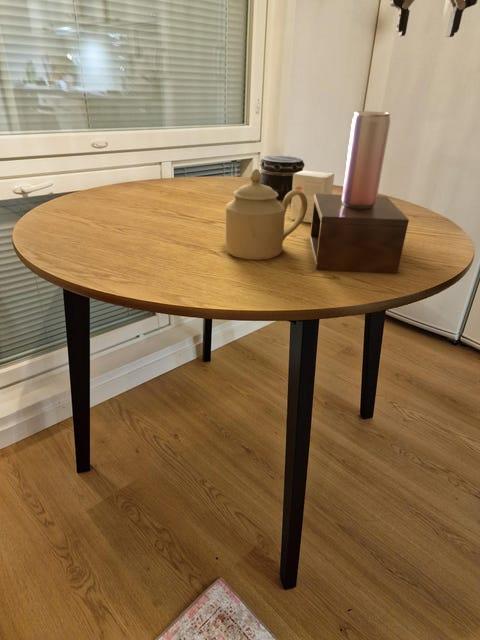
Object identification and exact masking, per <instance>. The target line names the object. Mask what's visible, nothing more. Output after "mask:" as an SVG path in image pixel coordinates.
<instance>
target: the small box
mask: <svg viewBox="0 0 480 640" xmlns="http://www.w3.org/2000/svg"><path fill="white" fill-rule="evenodd" d="M334 179H335V173H332V172H331V173H330V172H322V171H321V172H320V171H313V170H304V169H303V171H300V172H297V173H295V174H293V185H292V190H299V191H301V192H303V193H304V194H305V196H306V198H307V211H306V214H305V217H304V219H303V221H302V223H312V213H313V203H314V194H331V195H333V189H334V181H335V180H334ZM290 201H291V202H290V203H291V204H290V220H292V221H295V220H296V218H297V216H298V214H299V212H300V209H301V199H300V196H299V195H295V196H293V197H292V199H290Z"/></svg>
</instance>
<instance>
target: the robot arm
mask: <svg viewBox="0 0 480 640" xmlns="http://www.w3.org/2000/svg"><path fill="white" fill-rule="evenodd" d="M448 1H449V2H450V5H451V7H452V11H451V13H450V15H449V22H448V25H447V30H446V38H453V37H454V36H455V34H456V33H458V31H459V29H460V26H461V21H462V17H463V14H464V11H465V10H466V9H468V8H470V7H472V6H475V5H476V4H477V3H478V0H448ZM414 2H415V0H389V5H390V6H391V7H393V8H395V9H397V10H398V15H397V22H396V28H395V29H396V32H397V33H398V37H404V36H406V33H407V28H408V23H409V16H410V12H411V10H410V9H409V8H410V7H411V5H412V4H413V3H414Z"/></svg>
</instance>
